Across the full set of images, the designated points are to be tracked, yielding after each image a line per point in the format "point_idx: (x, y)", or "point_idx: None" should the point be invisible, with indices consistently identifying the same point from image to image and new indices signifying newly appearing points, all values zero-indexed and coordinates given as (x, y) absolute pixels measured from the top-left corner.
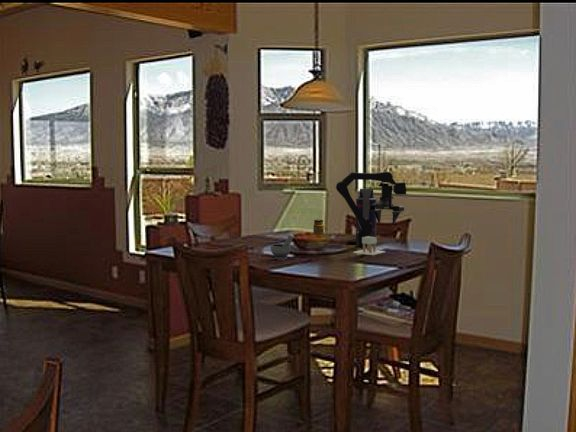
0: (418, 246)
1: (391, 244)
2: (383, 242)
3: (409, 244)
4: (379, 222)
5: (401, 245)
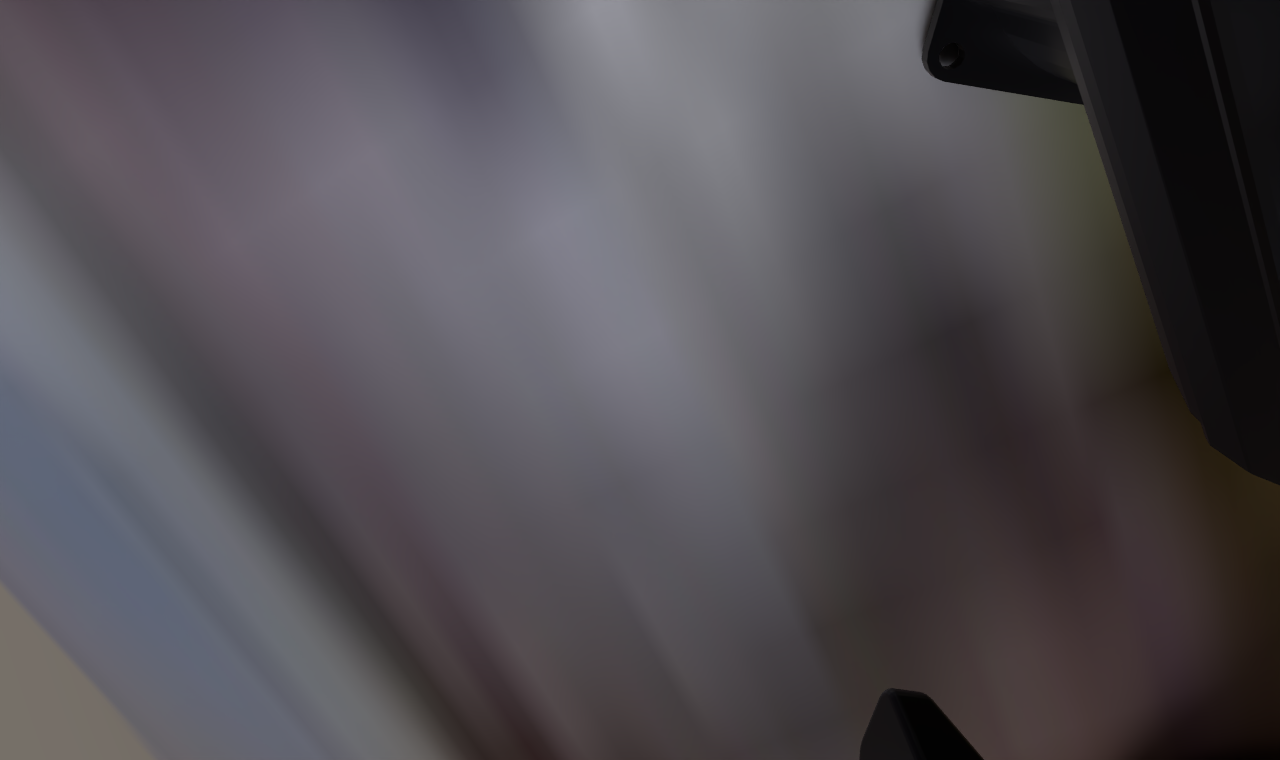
0: (126, 598)
1: (634, 591)
2: (850, 708)
3: (372, 704)
4: (871, 736)
5: (424, 570)
